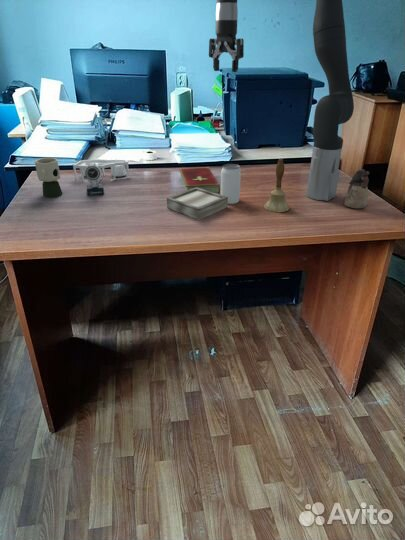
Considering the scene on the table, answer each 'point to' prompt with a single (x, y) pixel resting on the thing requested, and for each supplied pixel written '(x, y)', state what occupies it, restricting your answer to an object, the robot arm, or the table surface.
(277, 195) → the hand bell
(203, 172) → the hardcover book
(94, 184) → the watch
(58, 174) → the character mug
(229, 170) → the can
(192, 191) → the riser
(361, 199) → the figurine
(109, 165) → the skeletal toy car
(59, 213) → the table surface
